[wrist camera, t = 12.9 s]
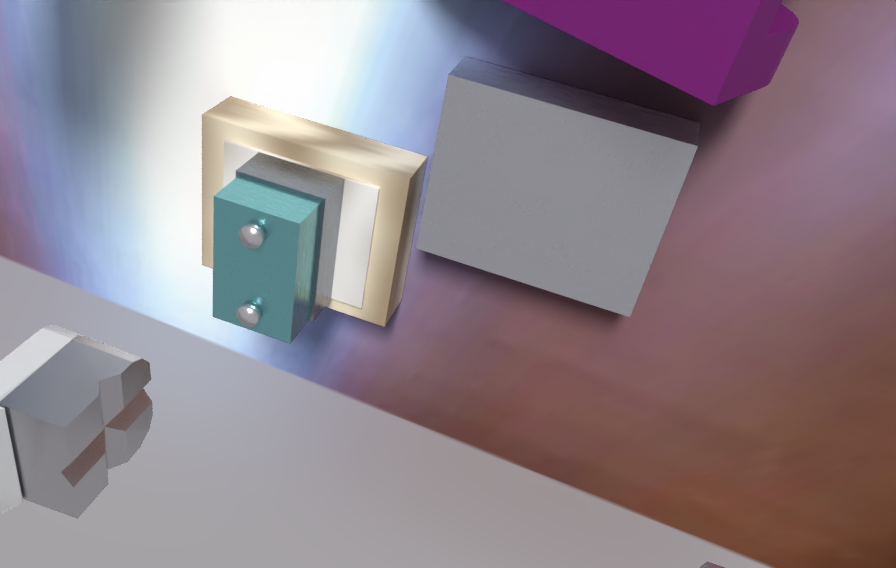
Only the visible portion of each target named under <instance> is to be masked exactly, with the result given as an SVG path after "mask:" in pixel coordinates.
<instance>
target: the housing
mask: <svg viewBox="0 0 896 568" xmlns="http://www.w3.org/2000/svg"><path fill="white" fill-rule="evenodd" d="M344 183H345V179H344V178H341V177H338V176H335V175H331V174H328V173H325V172H322V171H319V170H315V169H312V168H309V167H306V166H303V165H299V164H296V163H293V162H290V161H286V160H283V159H280V158H277V157H274V156H270V155H267V154H264V153H261V152H258V153H257V154H256V155H255V156H253V157H252V158H251V159H250V160H248V161H247V162H246V163H245V164H243V165H242V166H241V167H240V168H238V169H237V170H236V178H235V179H234V180H233V181H231V182H230V183H229V184H228V185H227V186H225V187H224V188H223V189H222V190H220V191H219V192H218V193H217V194H215V195H214V210H213V317H215V318H218V319H221V320H224V321H226V322H229V323H232V324H235V325H238V326H241V327H244V328H247V329H250V330H252V331H255V332H258V333H261V334H264V335H267V336H270V337H273V338H276V339H278V340H281V341H284V342H287V343H291V342H292V341H293V339H294V338H295V337H296V336H297V334H298V333H299V332H300V330H301V329H302V328H303V326H304V325H305V324H306V323H307V321H308V320H310V321H314V320H315V319H316V317H317V316H318V315H319V313H320V312H321V311H322V309H323V308H324V307H325V306H326V304H327V303H328V302H329V300H330V299H331V296H332V287H333V278H334V270H335V261H336V252H337V244H338V235H339V226H340V218H341V209H342V200H343V191H344Z"/></svg>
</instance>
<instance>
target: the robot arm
mask: <svg viewBox="0 0 896 568" xmlns="http://www.w3.org/2000/svg"><path fill="white" fill-rule="evenodd" d="M150 380H151V374H150V364H149V362H147V361H146V360H144V359H142V358H139V357H137V356H134V355H132V354H129V353H126V352H124V351H121V350H119V349H116V348H114V347H111V346H109V345H106V344H104V343H101V342H99V341H96V340H93V339H91V338H88V337H86V336H82V335H79V334H77V333H74V332H72V331H69V330H66V329H64V328H61V327H59V326H56V325H51V326H48V327H44V328H42V329H40V330H39V331H37V332H36V333H35V334H34V335H32V336H31V337H30V338H29V339H28V340H26V341H25V342H24V343H22V344H21V345H20V346H19V347H17V348H16V349H15V350H14V351H12V352H11V353H10V354H8V355H7V356H6V357H5V358H4V359H2V360H1V361H0V513H3V512H4V511H7V510H9V509H11V508H13V507H15V506H17V505H19V504H21V503H22V502H23V499H25V500H28V501H31V502H34V503H36V504H39V505H42V506H45V507H48V508H50V509H53V510H56V511H58V512H61V513H64V514H67V515H69V516H72V517H75V518H78V517H79V516H80V515H81V514H82V513H83V512H84V511H85V510H86V508H87V507H88V506H89V505H90V504H91V503H92V502H93V501H94V499H95V498H96V497H97V496H98V495H99V494H100V493H101V491H102V490H103V489H104V488H105V487H106V486H107V485H108V469H110V468H112V467H115V466H118V465H121V464H123V463H126V462H128V461H129V460H130V458H131V457H132V456H133V455H134V454H135V452H136V451H137V450H138V449H139V448H140V446H141V444H142V442H143V440H144V438H145V436H146V434H147V432H148V430H149V428H150V424H151V419H152V413H153V412H152V401H151V399H150V398H149V396H148V395H147V394H146V392H145V391H144V389H143V388H144V386H145V385H146V384H147V383H148V382H149V381H150ZM700 568H724V567H721V566H718V565H715V564H712V563H709V562H706V563H705V564H703V565H702V566H701V567H700Z"/></svg>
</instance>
